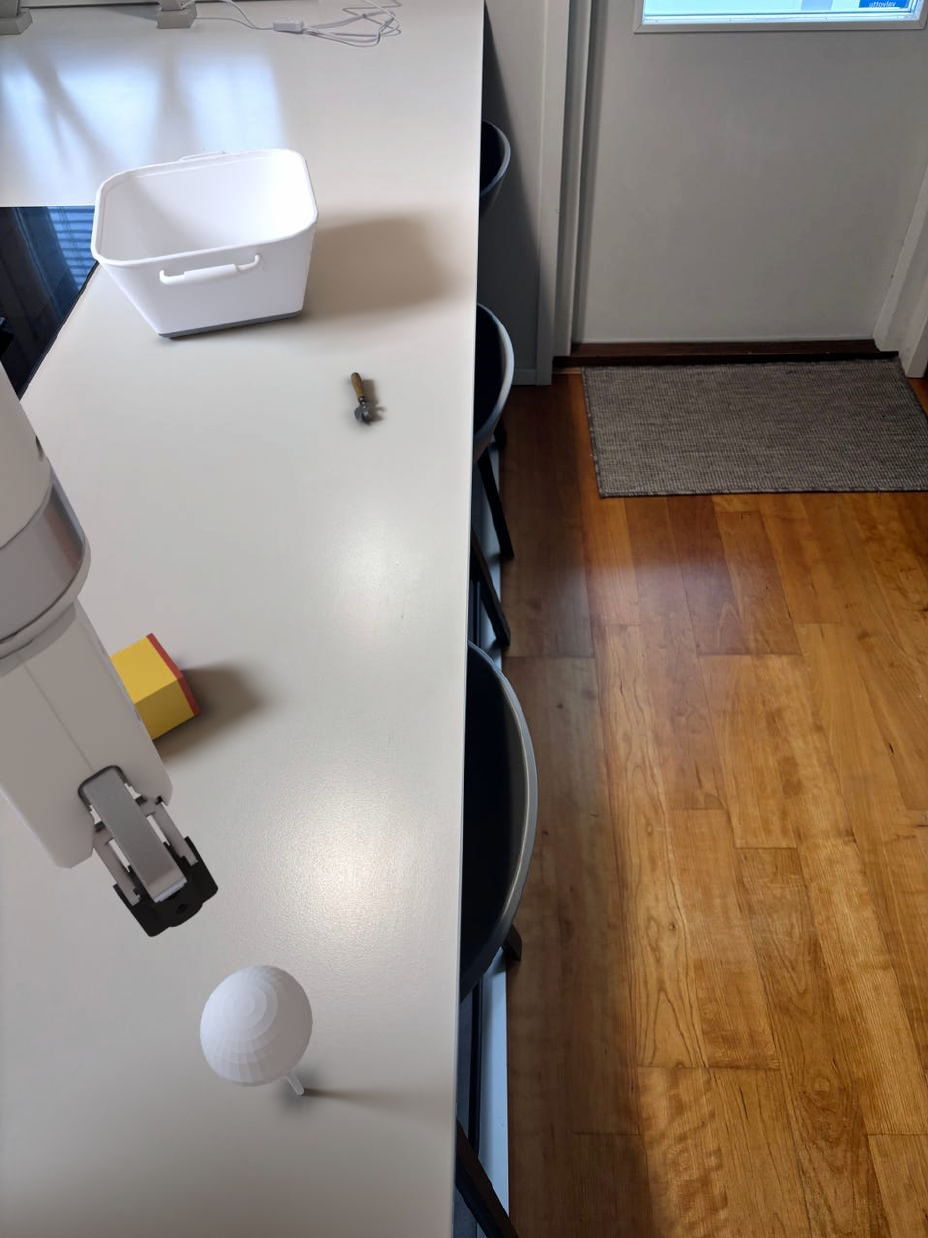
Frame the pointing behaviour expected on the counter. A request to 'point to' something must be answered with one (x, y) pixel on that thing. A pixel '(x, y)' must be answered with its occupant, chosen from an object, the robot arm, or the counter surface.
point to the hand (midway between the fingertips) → (131, 830)
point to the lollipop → (256, 1027)
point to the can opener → (360, 398)
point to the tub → (209, 238)
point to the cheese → (155, 686)
